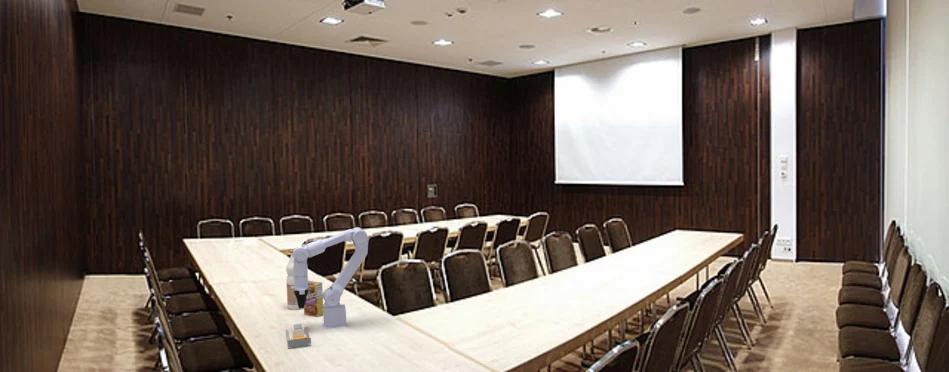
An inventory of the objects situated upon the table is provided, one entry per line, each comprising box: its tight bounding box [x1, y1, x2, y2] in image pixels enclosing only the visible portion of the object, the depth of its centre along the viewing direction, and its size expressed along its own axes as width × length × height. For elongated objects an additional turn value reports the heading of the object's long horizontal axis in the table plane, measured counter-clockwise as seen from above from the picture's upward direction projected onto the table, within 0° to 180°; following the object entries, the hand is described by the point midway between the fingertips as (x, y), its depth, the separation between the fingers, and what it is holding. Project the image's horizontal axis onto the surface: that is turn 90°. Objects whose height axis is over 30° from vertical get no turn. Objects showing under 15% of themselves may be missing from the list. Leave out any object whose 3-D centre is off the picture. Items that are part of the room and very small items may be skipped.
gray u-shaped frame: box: [285, 327, 312, 350], centre depth 235 cm, size 11×22×4 cm, turn 20°
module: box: [291, 323, 305, 338], centre depth 230 cm, size 4×7×6 cm, turn 20°
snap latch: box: [290, 335, 307, 340], centre depth 226 cm, size 6×2×3 cm, turn 110°
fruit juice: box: [285, 249, 304, 311], centre depth 285 cm, size 9×9×28 cm
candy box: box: [303, 280, 324, 318], centre depth 271 cm, size 9×4×15 cm, turn 60°
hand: (301, 307), depth 248 cm, fingers closed
